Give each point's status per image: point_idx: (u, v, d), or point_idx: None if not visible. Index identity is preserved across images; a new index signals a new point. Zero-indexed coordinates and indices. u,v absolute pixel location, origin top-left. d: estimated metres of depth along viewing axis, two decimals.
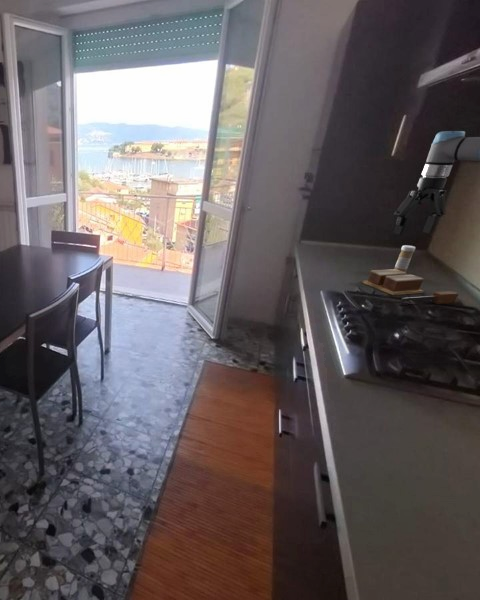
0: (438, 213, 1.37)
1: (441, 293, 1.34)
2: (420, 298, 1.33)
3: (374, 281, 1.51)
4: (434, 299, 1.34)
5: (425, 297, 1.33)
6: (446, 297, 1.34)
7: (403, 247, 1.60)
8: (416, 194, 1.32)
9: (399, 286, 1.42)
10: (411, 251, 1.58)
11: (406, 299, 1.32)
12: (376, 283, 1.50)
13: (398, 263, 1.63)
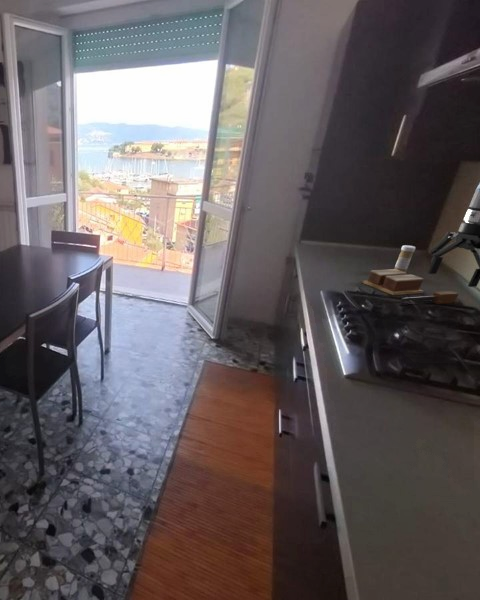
0: None
1: (441, 293, 1.34)
2: (420, 298, 1.33)
3: (374, 281, 1.51)
4: (434, 299, 1.34)
5: (425, 297, 1.33)
6: (446, 297, 1.34)
7: (403, 247, 1.60)
8: None
9: (399, 286, 1.42)
10: (411, 251, 1.58)
11: (406, 299, 1.32)
12: (376, 283, 1.50)
13: (398, 263, 1.63)
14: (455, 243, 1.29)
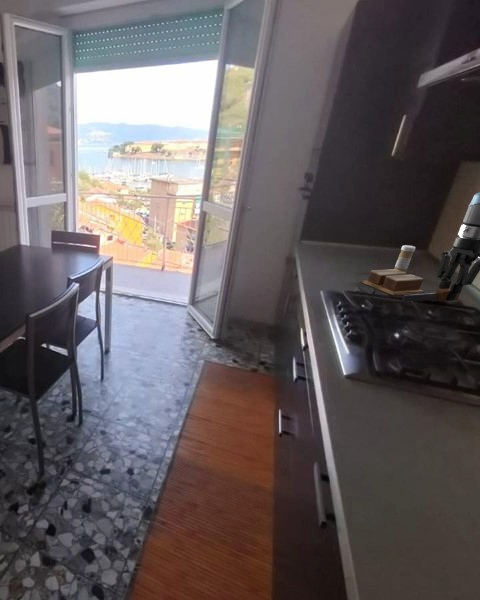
0: None
1: (444, 290, 1.33)
2: (422, 295, 1.32)
3: (374, 281, 1.51)
4: (437, 296, 1.34)
5: (427, 294, 1.33)
6: None
7: (403, 247, 1.60)
8: None
9: (399, 286, 1.42)
10: (411, 251, 1.58)
11: (409, 296, 1.32)
12: (376, 283, 1.50)
13: (398, 263, 1.63)
14: (453, 259, 1.30)
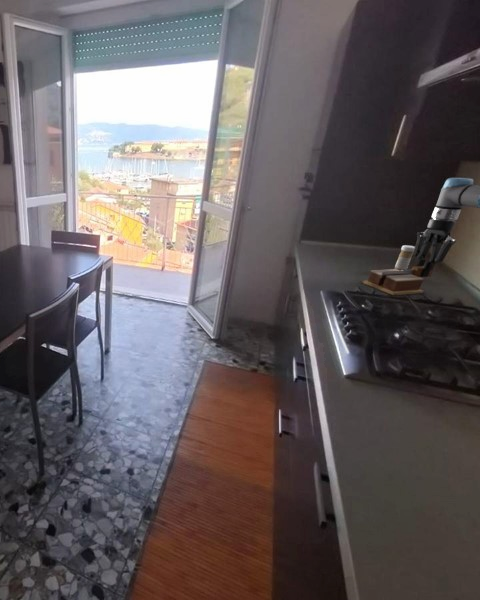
0: None
1: (418, 267, 1.47)
2: (399, 271, 1.47)
3: (374, 281, 1.51)
4: (412, 273, 1.48)
5: (404, 271, 1.47)
6: None
7: (403, 247, 1.60)
8: None
9: (399, 286, 1.42)
10: (411, 251, 1.58)
11: (387, 272, 1.46)
12: (376, 283, 1.50)
13: (398, 263, 1.63)
14: (427, 239, 1.44)
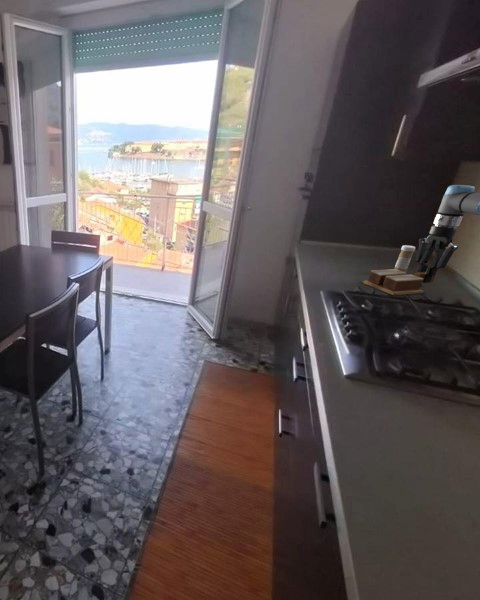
0: None
1: (421, 273, 1.48)
2: None
3: (374, 281, 1.51)
4: None
5: None
6: None
7: (403, 247, 1.60)
8: None
9: (399, 286, 1.42)
10: (411, 251, 1.58)
11: None
12: (376, 283, 1.50)
13: (398, 263, 1.63)
14: (429, 245, 1.46)
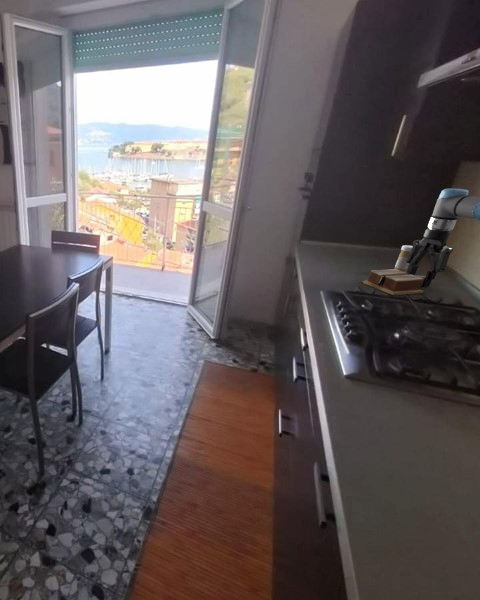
0: None
1: None
2: None
3: (374, 281, 1.51)
4: None
5: None
6: None
7: (403, 247, 1.60)
8: None
9: (399, 286, 1.42)
10: None
11: None
12: (376, 283, 1.50)
13: (398, 263, 1.63)
14: (422, 248, 1.46)
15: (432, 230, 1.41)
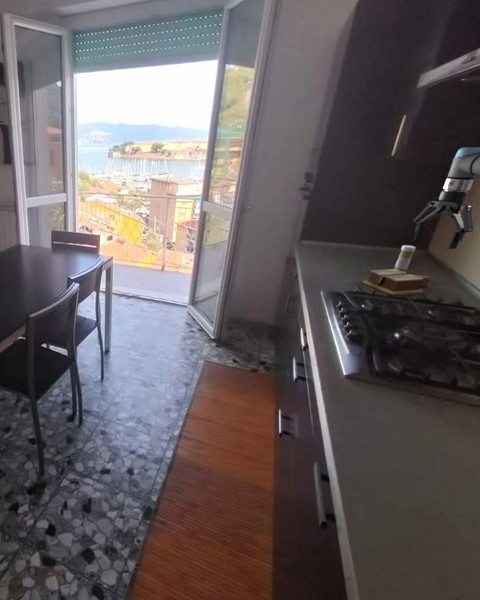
0: None
1: None
2: None
3: (374, 281, 1.51)
4: None
5: None
6: None
7: (403, 247, 1.60)
8: None
9: (399, 286, 1.42)
10: (411, 251, 1.58)
11: None
12: (376, 283, 1.50)
13: (398, 263, 1.63)
14: (436, 210, 1.43)
15: (448, 191, 1.37)
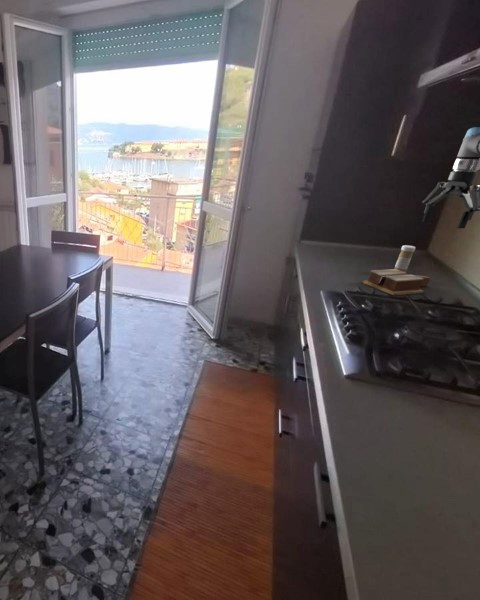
0: None
1: None
2: None
3: (374, 281, 1.51)
4: None
5: None
6: None
7: (403, 247, 1.60)
8: None
9: (399, 286, 1.42)
10: (411, 251, 1.58)
11: None
12: (376, 283, 1.50)
13: (398, 263, 1.63)
14: (445, 191, 1.45)
15: (457, 171, 1.39)
